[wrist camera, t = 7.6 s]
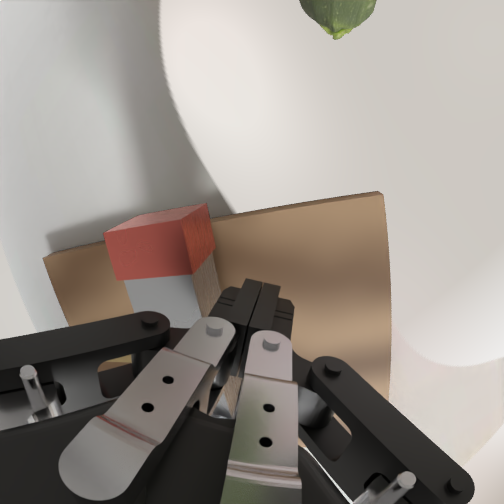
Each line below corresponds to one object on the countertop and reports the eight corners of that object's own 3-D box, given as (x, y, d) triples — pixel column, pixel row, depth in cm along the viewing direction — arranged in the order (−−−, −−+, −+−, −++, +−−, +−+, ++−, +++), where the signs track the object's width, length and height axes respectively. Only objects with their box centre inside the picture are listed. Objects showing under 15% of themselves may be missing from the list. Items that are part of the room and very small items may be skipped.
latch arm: (265, 426, 17) (257, 470, 14) (198, 424, 18) (183, 463, 15) (217, 201, 13) (190, 220, 10) (130, 216, 14) (87, 237, 11)
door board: (382, 426, 21) (387, 459, 17) (136, 429, 25) (122, 454, 22) (378, 190, 15) (395, 202, 12) (52, 252, 20) (22, 269, 17)
